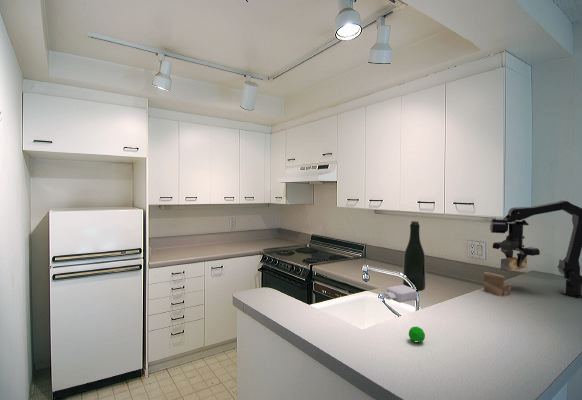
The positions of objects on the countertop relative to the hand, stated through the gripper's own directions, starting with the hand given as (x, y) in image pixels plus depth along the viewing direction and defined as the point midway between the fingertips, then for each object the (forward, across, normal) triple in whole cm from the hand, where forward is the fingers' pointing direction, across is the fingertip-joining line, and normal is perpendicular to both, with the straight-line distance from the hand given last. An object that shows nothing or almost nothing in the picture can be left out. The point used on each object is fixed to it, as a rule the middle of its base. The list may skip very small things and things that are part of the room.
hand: (514, 266), depth 157 cm
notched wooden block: (+11, -1, -12) cm, 16 cm away
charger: (+12, -14, -60) cm, 63 cm away
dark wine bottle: (+12, -22, -41) cm, 48 cm away
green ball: (+12, +18, -81) cm, 84 cm away
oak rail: (+1, 0, 0) cm, 1 cm away
